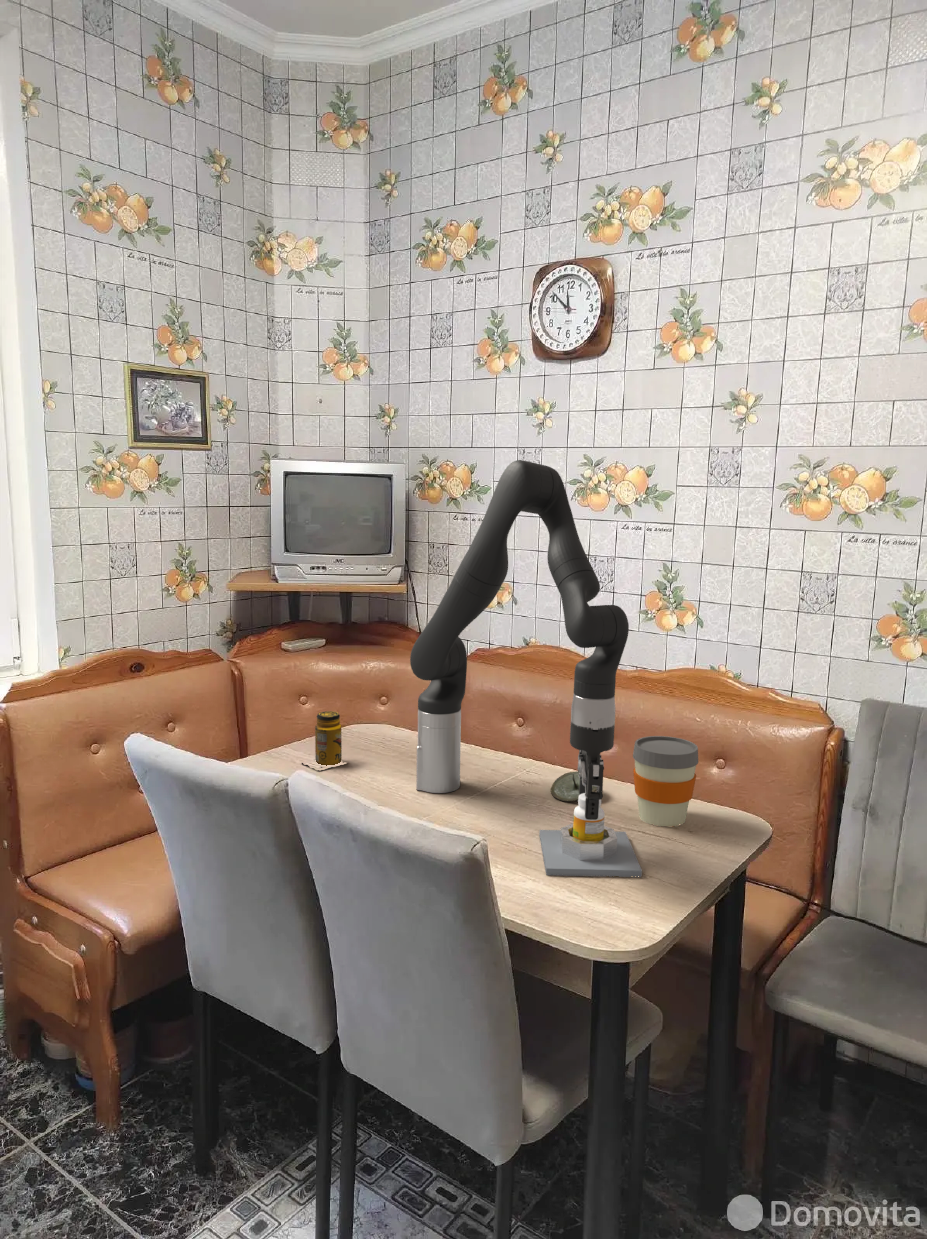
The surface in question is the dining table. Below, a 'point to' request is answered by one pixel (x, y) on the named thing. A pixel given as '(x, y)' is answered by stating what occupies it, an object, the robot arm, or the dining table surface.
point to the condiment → (328, 738)
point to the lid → (567, 787)
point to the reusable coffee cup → (664, 778)
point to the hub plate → (569, 866)
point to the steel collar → (588, 845)
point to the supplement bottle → (587, 823)
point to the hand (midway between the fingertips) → (588, 809)
